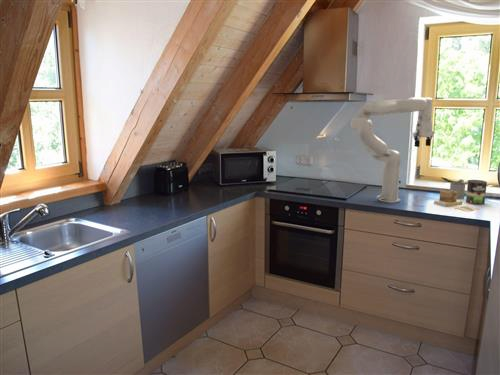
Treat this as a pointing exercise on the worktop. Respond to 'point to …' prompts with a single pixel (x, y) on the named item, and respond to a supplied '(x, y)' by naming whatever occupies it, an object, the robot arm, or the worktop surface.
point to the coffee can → (476, 192)
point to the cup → (458, 189)
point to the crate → (448, 196)
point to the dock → (447, 203)
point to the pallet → (467, 208)
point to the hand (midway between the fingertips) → (422, 146)
